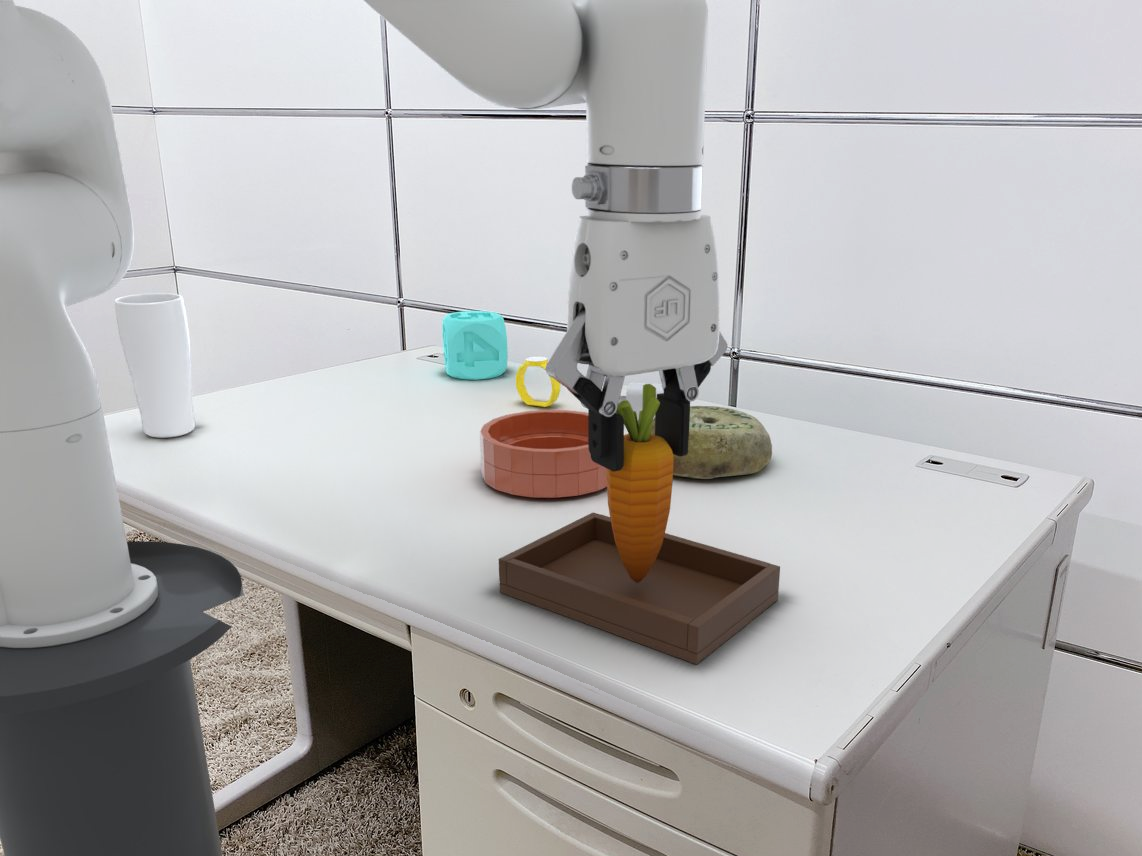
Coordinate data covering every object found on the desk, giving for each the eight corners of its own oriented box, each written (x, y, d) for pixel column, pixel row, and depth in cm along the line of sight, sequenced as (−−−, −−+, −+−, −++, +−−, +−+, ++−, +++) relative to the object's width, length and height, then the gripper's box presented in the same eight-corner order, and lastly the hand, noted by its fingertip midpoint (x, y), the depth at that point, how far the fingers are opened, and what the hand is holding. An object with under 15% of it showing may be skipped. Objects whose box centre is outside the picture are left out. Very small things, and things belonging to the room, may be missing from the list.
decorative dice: (508, 378, 134) (506, 320, 131) (449, 381, 132) (446, 322, 129) (500, 364, 141) (498, 309, 139) (444, 367, 139) (440, 311, 136)
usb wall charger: (662, 424, 115) (663, 391, 114) (604, 421, 116) (604, 388, 114) (665, 414, 119) (666, 382, 117) (609, 411, 120) (609, 380, 118)
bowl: (525, 512, 89) (524, 460, 87) (459, 470, 99) (456, 423, 97) (646, 483, 96) (646, 435, 95) (572, 447, 107) (572, 403, 105)
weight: (778, 448, 107) (781, 404, 106) (760, 490, 95) (763, 441, 93) (659, 436, 111) (660, 394, 109) (627, 475, 98) (627, 428, 97)
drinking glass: (128, 431, 110) (104, 297, 104) (190, 419, 114) (170, 290, 109) (148, 445, 105) (124, 306, 100) (212, 433, 109) (192, 299, 104)
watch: (564, 406, 121) (564, 359, 119) (551, 411, 119) (550, 364, 117) (526, 399, 124) (525, 353, 122) (512, 404, 122) (511, 357, 120)
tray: (499, 592, 74) (498, 558, 73) (593, 542, 83) (592, 511, 82) (696, 664, 64) (698, 627, 64) (778, 599, 73) (780, 566, 72)
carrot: (626, 603, 70) (629, 401, 65) (592, 576, 74) (592, 384, 69) (683, 587, 73) (690, 391, 67) (647, 562, 76) (651, 376, 71)
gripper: (562, 203, 56) (566, 498, 62) (779, 194, 65) (763, 451, 72) (500, 194, 62) (508, 465, 68) (708, 187, 71) (698, 426, 77)
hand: (639, 455), depth 70 cm, fingers closed on carrot, 5 cm apart
